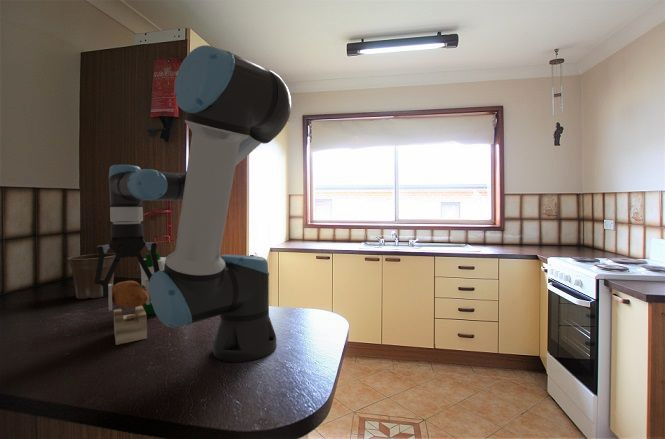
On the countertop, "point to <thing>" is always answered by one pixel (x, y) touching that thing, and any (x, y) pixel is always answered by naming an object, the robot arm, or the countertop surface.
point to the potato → (129, 294)
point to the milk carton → (144, 277)
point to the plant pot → (89, 274)
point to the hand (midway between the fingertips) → (129, 306)
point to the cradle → (130, 326)
